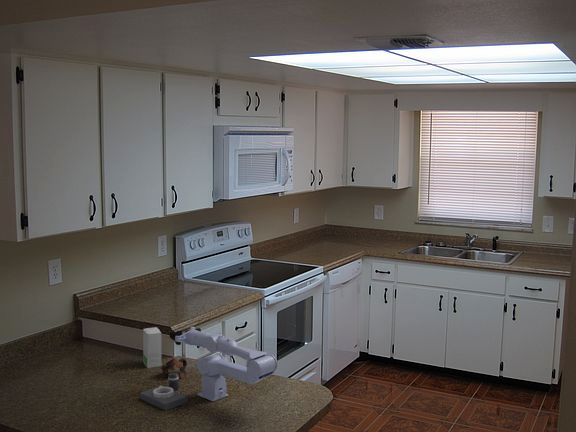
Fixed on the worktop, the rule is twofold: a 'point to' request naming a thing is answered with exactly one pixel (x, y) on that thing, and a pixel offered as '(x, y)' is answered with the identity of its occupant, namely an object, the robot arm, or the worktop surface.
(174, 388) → the lens
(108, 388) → the worktop surface
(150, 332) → the skincare box
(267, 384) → the worktop surface
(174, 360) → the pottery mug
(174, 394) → the camera body
